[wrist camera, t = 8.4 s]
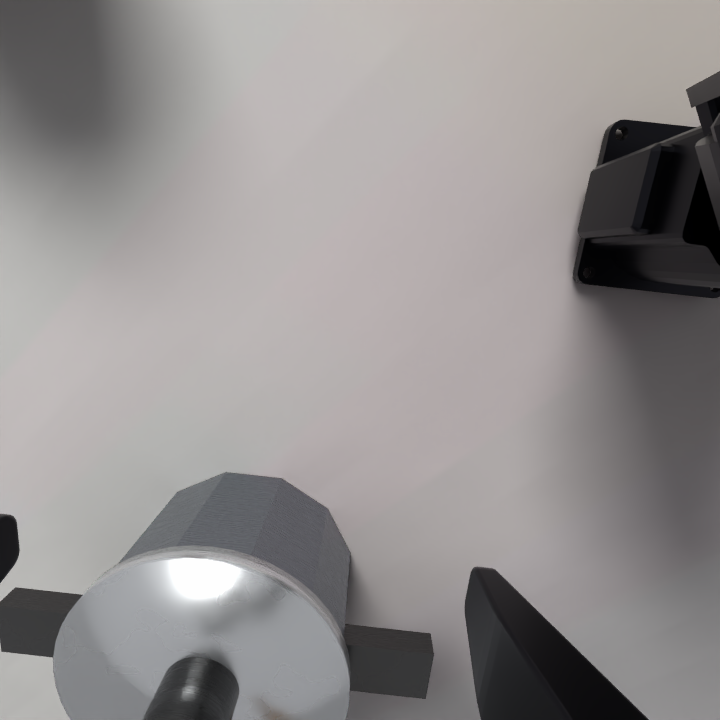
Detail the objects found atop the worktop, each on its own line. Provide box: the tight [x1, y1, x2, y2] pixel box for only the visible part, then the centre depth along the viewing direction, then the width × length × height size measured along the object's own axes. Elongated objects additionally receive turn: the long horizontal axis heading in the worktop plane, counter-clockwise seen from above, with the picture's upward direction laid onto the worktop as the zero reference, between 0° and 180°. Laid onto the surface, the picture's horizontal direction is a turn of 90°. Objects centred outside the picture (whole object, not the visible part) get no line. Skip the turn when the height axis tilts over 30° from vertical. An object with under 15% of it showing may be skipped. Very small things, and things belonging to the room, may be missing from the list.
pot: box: [0, 472, 434, 699], centre depth 20 cm, size 18×11×6 cm, turn 84°
